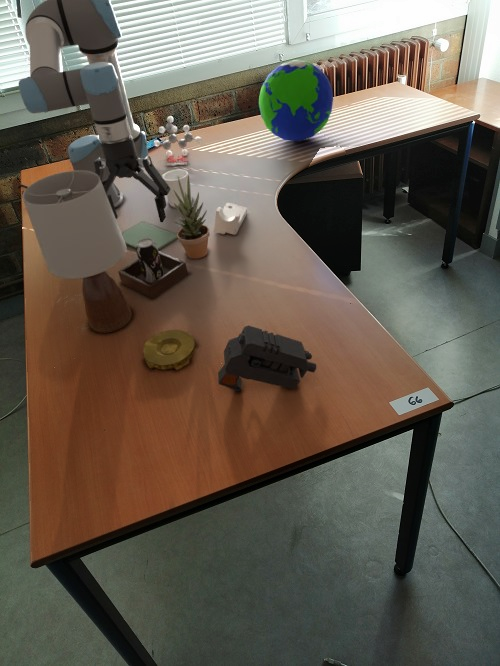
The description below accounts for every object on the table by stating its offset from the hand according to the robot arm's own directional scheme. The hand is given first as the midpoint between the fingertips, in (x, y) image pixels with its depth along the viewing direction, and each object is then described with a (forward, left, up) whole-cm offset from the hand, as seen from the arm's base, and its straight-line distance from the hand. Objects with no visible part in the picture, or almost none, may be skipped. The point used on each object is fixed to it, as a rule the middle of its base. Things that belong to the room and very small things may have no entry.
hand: (138, 220), depth 131 cm
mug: (-29, +37, -19) cm, 51 cm away
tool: (+52, -13, -19) cm, 57 cm away
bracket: (-1, +35, -19) cm, 40 cm away
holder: (0, 0, -19) cm, 19 cm away
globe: (-25, +103, -19) cm, 108 cm away
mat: (-20, +14, -19) cm, 31 cm away
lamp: (+4, -19, -19) cm, 27 cm away
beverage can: (0, 0, -19) cm, 19 cm away
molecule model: (-57, +64, -19) cm, 88 cm away
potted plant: (+1, +16, -19) cm, 25 cm away
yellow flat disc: (+27, -19, -19) cm, 38 cm away
